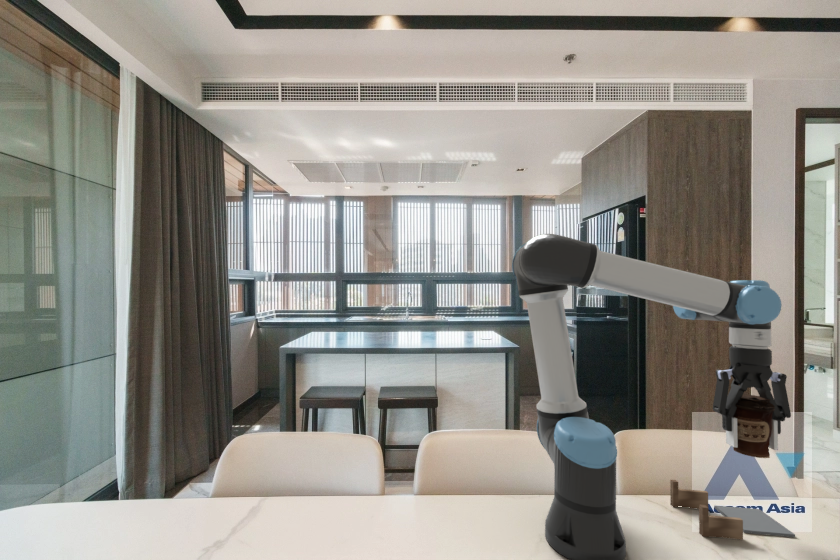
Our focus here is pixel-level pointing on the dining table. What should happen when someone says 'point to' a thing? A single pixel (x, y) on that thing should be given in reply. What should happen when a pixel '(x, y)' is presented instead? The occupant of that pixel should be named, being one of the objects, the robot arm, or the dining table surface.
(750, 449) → the coffee cup
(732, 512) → the coaster
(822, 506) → the dining table surface
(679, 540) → the dining table surface
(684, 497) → the cup holder rails
